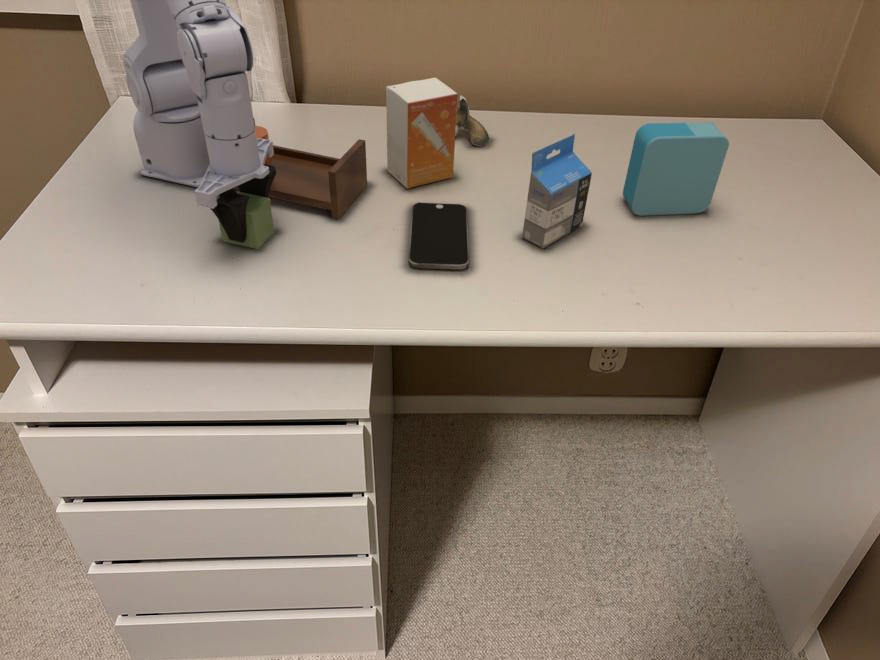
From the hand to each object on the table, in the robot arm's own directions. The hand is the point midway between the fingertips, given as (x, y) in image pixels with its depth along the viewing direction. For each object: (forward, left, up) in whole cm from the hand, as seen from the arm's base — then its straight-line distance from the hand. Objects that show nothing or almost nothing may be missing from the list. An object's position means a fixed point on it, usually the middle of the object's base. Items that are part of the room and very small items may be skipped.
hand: (247, 229), depth 93 cm
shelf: (0, +13, -1) cm, 13 cm away
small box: (+15, +24, -1) cm, 28 cm away
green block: (0, 0, -1) cm, 1 cm away
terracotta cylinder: (-5, +12, +1) cm, 12 cm away
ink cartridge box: (+37, +16, -1) cm, 40 cm away
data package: (+51, +29, -1) cm, 59 cm away
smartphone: (+23, +9, -1) cm, 25 cm away
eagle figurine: (+17, +39, -1) cm, 43 cm away
